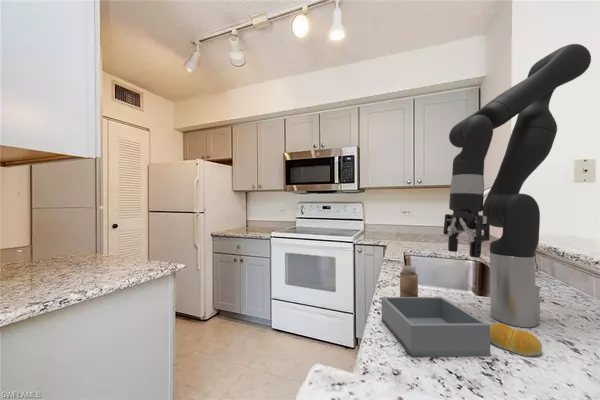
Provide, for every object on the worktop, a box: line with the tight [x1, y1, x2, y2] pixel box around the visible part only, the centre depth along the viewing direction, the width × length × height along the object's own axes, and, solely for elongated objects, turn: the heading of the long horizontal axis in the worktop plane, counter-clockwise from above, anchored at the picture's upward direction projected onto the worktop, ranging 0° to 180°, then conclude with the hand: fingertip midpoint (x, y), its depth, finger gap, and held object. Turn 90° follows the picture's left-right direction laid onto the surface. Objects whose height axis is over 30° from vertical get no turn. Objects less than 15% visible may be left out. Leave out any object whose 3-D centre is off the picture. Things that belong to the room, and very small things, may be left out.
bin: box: [381, 296, 491, 358], centre depth 58 cm, size 16×16×6 cm
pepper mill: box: [399, 265, 419, 297], centre depth 74 cm, size 5×5×12 cm
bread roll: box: [490, 322, 543, 357], centre depth 54 cm, size 8×9×4 cm
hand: (462, 254), depth 67 cm, fingers open, 8 cm apart
